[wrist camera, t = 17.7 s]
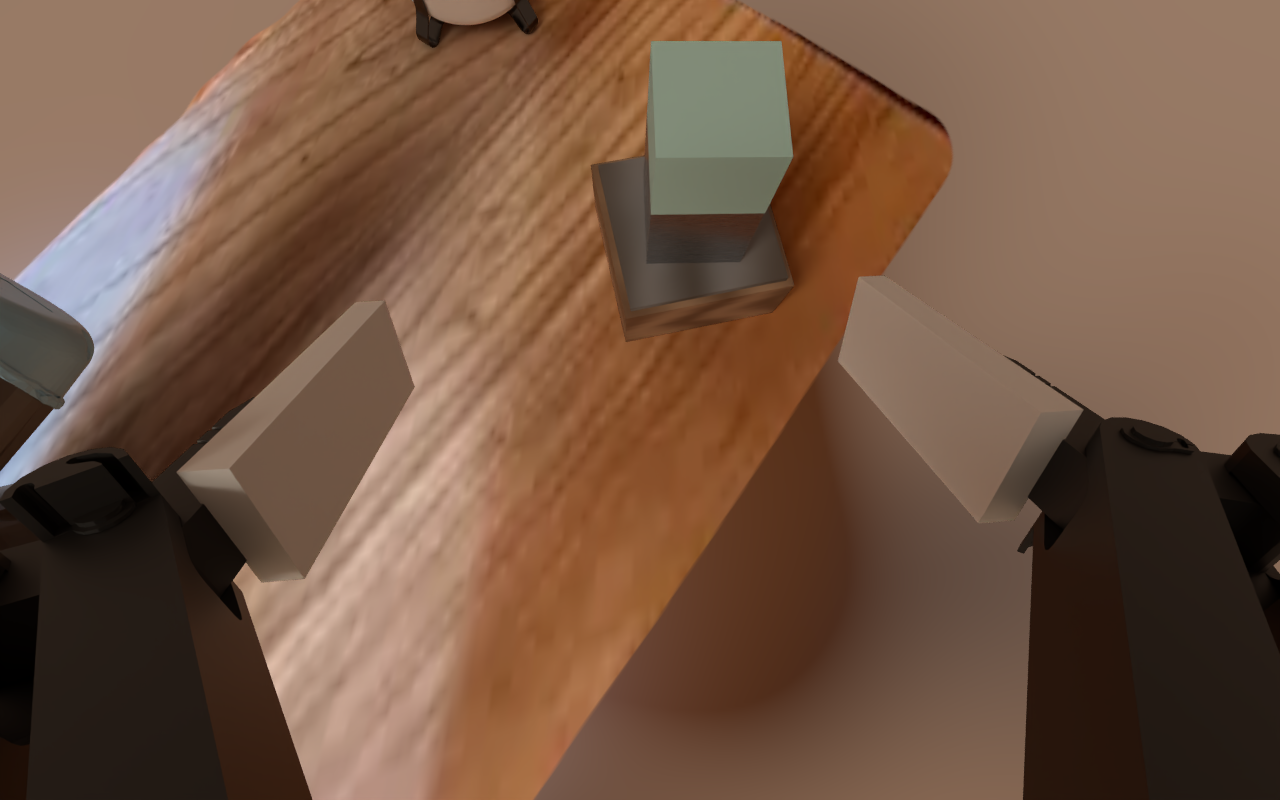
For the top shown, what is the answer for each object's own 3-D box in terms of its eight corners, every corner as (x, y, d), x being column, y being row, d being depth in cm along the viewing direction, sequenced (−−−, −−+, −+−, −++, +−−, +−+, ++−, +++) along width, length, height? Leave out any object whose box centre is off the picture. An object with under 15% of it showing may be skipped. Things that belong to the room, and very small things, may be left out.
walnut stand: (625, 341, 40) (625, 316, 34) (595, 206, 43) (590, 160, 37) (772, 312, 41) (796, 282, 35) (734, 180, 43) (751, 132, 38)
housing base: (646, 263, 35) (650, 213, 29) (643, 179, 36) (646, 113, 30) (740, 262, 35) (764, 211, 29) (733, 178, 37) (755, 112, 30)
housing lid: (650, 214, 29) (655, 157, 24) (646, 92, 30) (650, 16, 25) (765, 213, 29) (793, 156, 24) (754, 92, 31) (778, 16, 26)
